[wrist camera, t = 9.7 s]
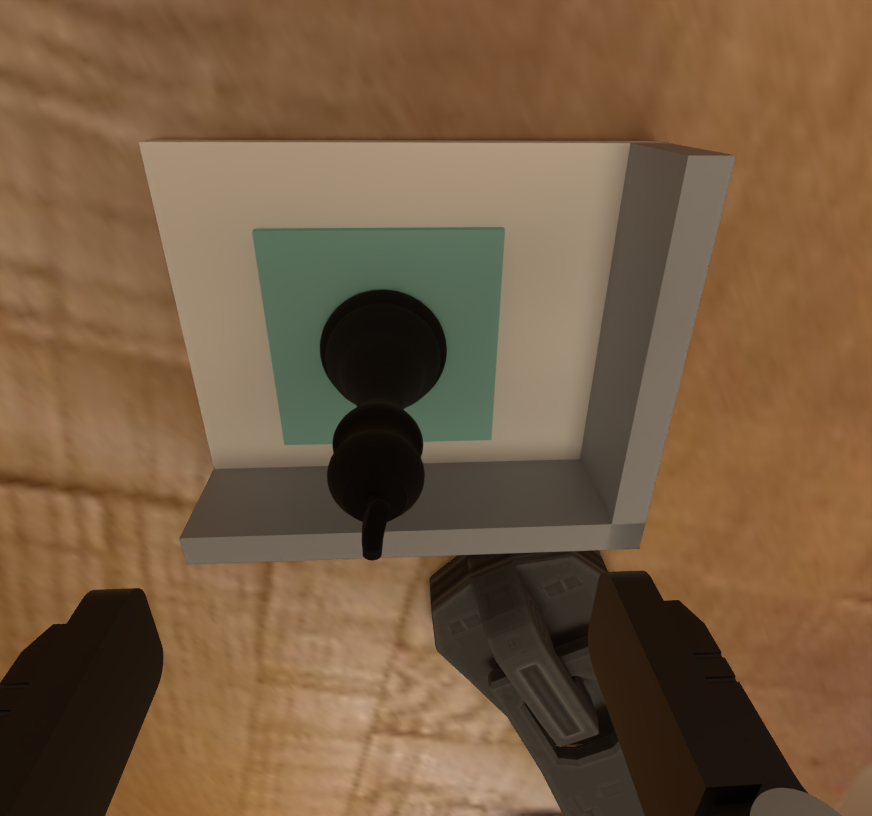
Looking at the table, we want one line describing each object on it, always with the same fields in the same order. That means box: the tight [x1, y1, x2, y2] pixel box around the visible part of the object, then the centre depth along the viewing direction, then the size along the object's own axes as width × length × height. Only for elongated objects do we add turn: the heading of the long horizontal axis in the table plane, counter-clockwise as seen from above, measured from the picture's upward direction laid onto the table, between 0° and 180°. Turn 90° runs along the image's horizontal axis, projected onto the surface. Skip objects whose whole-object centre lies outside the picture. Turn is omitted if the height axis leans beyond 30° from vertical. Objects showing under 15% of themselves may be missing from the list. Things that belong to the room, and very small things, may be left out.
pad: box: [252, 227, 505, 445], centre depth 20 cm, size 8×8×1 cm
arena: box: [139, 139, 736, 565], centre depth 19 cm, size 16×13×5 cm
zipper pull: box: [430, 550, 645, 816], centre depth 29 cm, size 9×7×25 cm
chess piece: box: [320, 290, 447, 560], centre depth 15 cm, size 4×4×10 cm
